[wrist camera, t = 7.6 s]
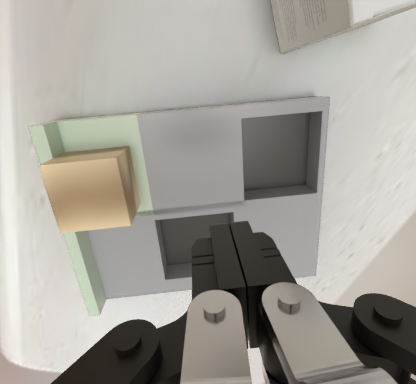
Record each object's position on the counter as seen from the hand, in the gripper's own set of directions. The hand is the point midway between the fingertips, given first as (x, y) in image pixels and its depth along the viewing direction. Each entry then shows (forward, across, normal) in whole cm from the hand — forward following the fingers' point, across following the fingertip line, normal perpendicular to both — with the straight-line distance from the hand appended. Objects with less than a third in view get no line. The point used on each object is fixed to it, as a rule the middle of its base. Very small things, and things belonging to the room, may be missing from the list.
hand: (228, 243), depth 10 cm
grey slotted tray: (+15, +1, +4) cm, 15 cm away
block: (+12, +9, +1) cm, 15 cm away
